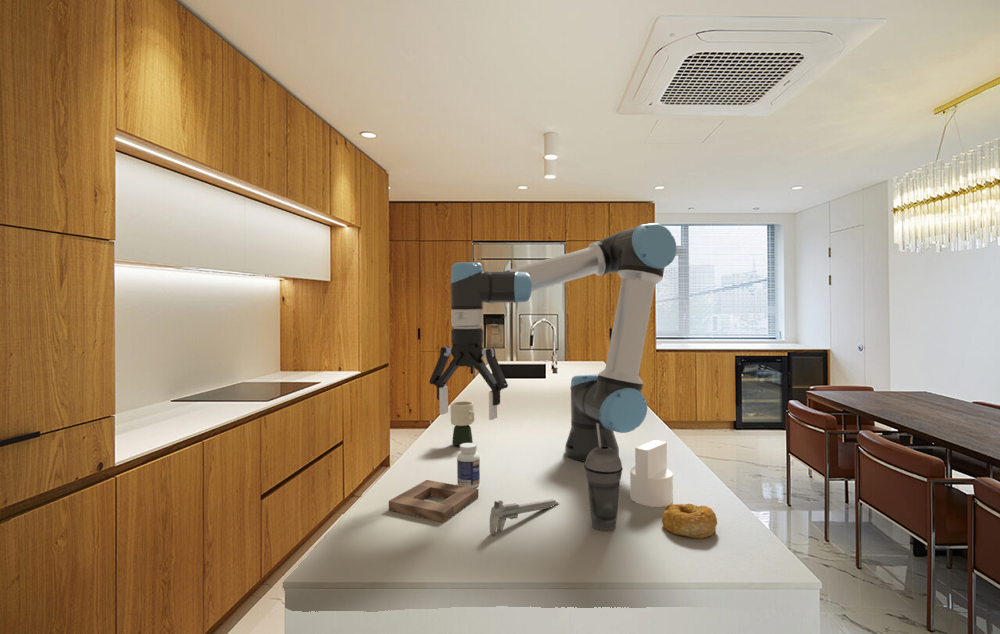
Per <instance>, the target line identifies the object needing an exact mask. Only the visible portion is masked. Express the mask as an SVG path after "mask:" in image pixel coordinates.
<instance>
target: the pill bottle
mask: <svg viewBox="0 0 1000 634" xmlns="http://www.w3.org/2000/svg"><path fill="white" fill-rule="evenodd" d="M477 449H478V446H477V444H476V443H474V442H473V443H463V444H461V445H459V452H460V453H458V455H457V457H456V465H457V466H456V467H457V468H456V471H457V472H456V474H457V479H456V480H457V485H458V486H464V487H470V488H475V489H476V488H477V487H479V486H480V484H481V481H480V479H481V476H480V471H481V470H480V467H481V466H480V465H481V463H480V462H481V461H480V460H481V459H480V454H479V453H478V452H477Z"/></svg>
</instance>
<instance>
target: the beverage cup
mask: <svg viewBox="0 0 1000 634" xmlns="http://www.w3.org/2000/svg"><path fill="white" fill-rule="evenodd" d="M596 426H597V435H598V444H599V446H598V447H595V448H594V449H592V450H591V451H590V453H589V454H588V456H587V458H586V461H584V463H585V464H584V469H585V475H586V479H587V490H588V499H589V511H590V519H591V526H592V528H593V529H594V530H597V531H600V532H610V531H614V530H615V529H616V527H617V526H616V524H617V519H618V507H619V506H618V505H619V495H620V485H621V484H620V482H621V478H622V473H623V469H624V468H623V464H622V460H621V458H620V455H619V456H618V454H617V453H616V451H614V450H613V449H612V448H610V447H607V446H601V439H600V431H599V423H596Z"/></svg>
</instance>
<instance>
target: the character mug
mask: <svg viewBox="0 0 1000 634" xmlns="http://www.w3.org/2000/svg"><path fill="white" fill-rule="evenodd" d="M474 409H475V408H474V402H473V401H468V400H465V401H464V400H463V401H459V400H458V401H454V402H451V403H450V409H449V410H450V424H451V425H452V426H454V428H453V430H452V431H453V432H452V440H451V443H452V445H454V446H460V445H461V444H463V443H474V442H473V434H472V428H471V425H472V424H473V423H474V422H475V412H474V411H475V410H474Z"/></svg>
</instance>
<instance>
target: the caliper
mask: <svg viewBox="0 0 1000 634" xmlns="http://www.w3.org/2000/svg"><path fill="white" fill-rule="evenodd" d="M558 503H559V502H558V501H557V500H555V499H553V498H551V499H545V500H538V501H532V502H528V503H520V504H519V503H508V504H504V502H503V500H498V501H497V500H494V503H493V507H491V510H490V516H489V533H490V534H491V535H494V536H496V532H497V533H499V534H501V533H502V532H503V530H504V527H505V524H506V522H507V521H506V520H507V519H510V520H513V519H518V515H522V514H524V513H525V514H526V513H529V512H535V511H540V510H547V509H550V508H549V507H551V506H553V505H555V504H556V505H559V504H558ZM556 505H555V506H556Z"/></svg>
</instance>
